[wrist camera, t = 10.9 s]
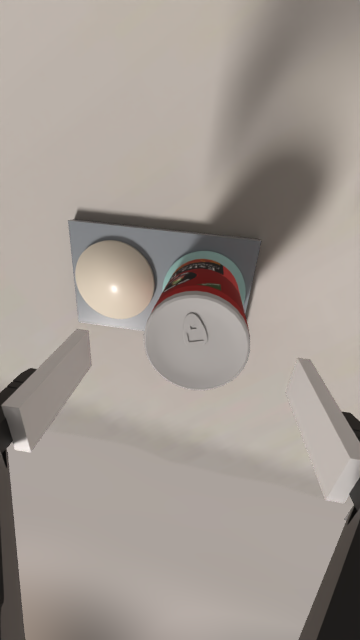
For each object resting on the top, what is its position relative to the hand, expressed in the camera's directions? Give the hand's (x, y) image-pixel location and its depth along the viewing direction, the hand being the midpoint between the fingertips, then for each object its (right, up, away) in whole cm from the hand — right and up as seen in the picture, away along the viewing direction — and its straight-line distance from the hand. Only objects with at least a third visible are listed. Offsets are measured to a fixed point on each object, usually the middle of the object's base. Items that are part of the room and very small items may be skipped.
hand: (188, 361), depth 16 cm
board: (-3, +7, +13) cm, 15 cm away
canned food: (+2, +6, +12) cm, 13 cm away
